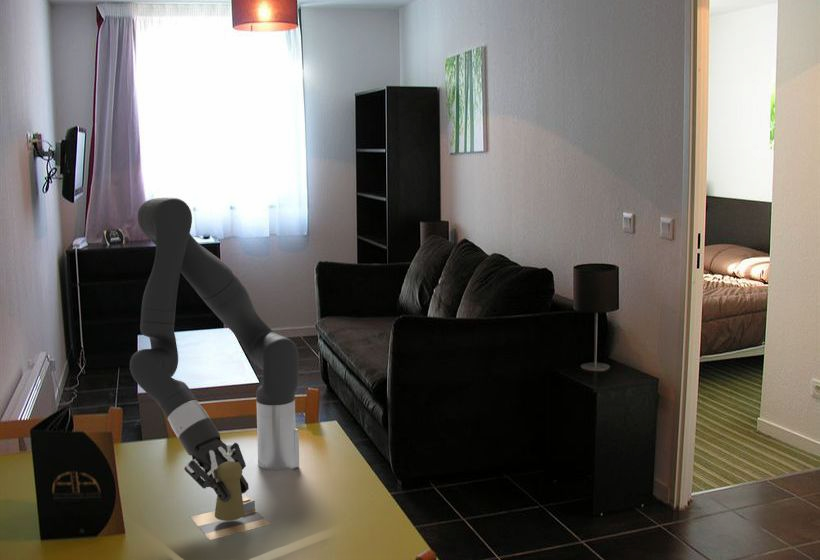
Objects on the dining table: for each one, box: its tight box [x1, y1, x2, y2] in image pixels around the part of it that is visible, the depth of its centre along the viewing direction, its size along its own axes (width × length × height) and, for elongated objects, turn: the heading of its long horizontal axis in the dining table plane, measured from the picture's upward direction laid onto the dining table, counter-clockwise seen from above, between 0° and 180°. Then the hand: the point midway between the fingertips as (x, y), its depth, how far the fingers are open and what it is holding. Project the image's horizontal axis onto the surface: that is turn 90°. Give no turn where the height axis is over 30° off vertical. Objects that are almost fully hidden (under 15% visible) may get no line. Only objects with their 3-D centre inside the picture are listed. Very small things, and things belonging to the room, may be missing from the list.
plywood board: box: [190, 508, 272, 541], centre depth 173 cm, size 13×12×1 cm
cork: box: [214, 461, 244, 521], centre depth 171 cm, size 6×6×11 cm
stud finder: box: [242, 493, 256, 513], centre depth 179 cm, size 3×5×2 cm, turn 42°
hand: (236, 495), depth 170 cm, fingers closed on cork, 4 cm apart
